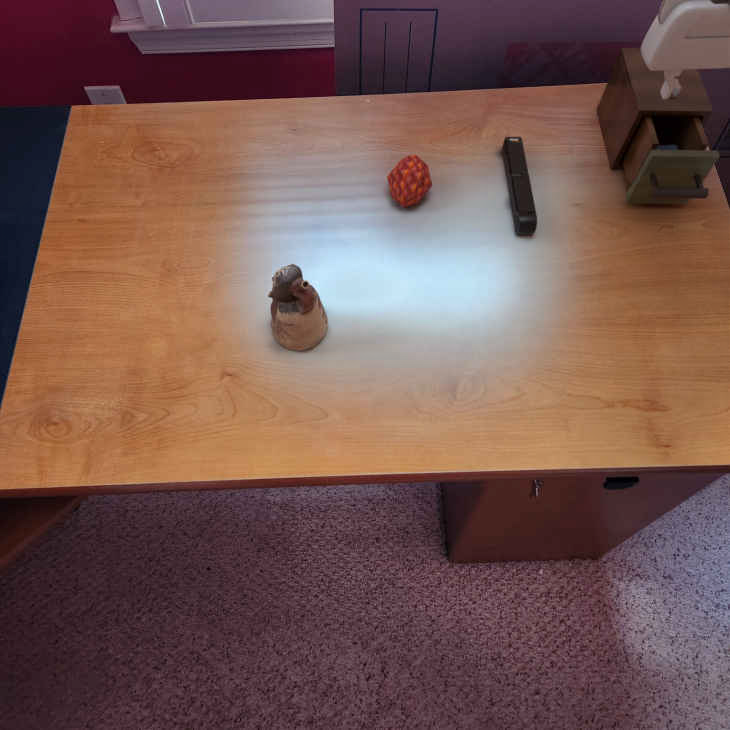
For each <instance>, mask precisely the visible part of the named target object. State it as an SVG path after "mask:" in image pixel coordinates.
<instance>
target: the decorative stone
mask: <svg viewBox="0 0 730 730" xmlns="http://www.w3.org/2000/svg"><path fill="white" fill-rule="evenodd" d="M386 178H387V182H388V187H389V191H390V196H391V198H392V199H393V200H394V201H395V202H396V203H398V204H399V205H400V206H401V207H402V208H405V207H409V206H410V207H411V206H414V205H415V204H418V203H419V202H420V201H421V200H422V199H423V198H424V196H425V195H426V194H427V192H429V191H430V189H432V187H433V182H432V178H431V173H430V170H429V165H428V164H427V163H426V162H425V161H424V160H423V159H422V158H421V157H419V155H417V154H411V155H406V156H405V157H403V158H402V159H400V160H399V161H398V162H397V164H396V165H395V166H394V167H393V168H392V170H391V171H390V172H389V173H388V174H387V176H386Z"/></svg>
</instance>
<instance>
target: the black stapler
mask: <svg viewBox="0 0 730 730" xmlns="http://www.w3.org/2000/svg"><path fill="white" fill-rule="evenodd" d="M501 154H502V159H503V166H504V172H505V179H506V184H507V190H508V196H509V202H510V209H511V215H512V222H513V228H514V233H515V234H516V235H520V234H521V235H530V234H532V235H533V234H535V233H536V232H537V226H538V215H537V212H536V211H537V209H536V205H535V199H534V193H533V189H532V184H531V178H530V174H529V168H528V162H527V158H526V153H525V148H524V142H523V139H522V136H505V137H504V139H503V143H502V147H501Z"/></svg>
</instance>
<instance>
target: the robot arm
mask: <svg viewBox="0 0 730 730" xmlns="http://www.w3.org/2000/svg"><path fill="white" fill-rule="evenodd" d="M640 48H641V54H642V57H643V60H644V62H645V63H646V65H647V67H648V68H649V70H651V71H661V70H664V76H665V82H664V84H663V86H662V88H661V91H660V94H661V96H662V98H663V99H676V98H677V94H678V93H679V92H680V90H681V86H680V84H678V83H679V81H678V79H674V76H679V75H680V74H681V72H682V70H688V69H697V70H709V69H710V70H713V69H714V70H715V69H730V0H662V3H661V5H660V7H659V10H658V13H657V15H656V16H655V18H654V20H653V22H652V23H651V25H650V27H649V29H648V31H647V32H646V34H645V36H644V38H643V41H642V43H641V46H640Z"/></svg>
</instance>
